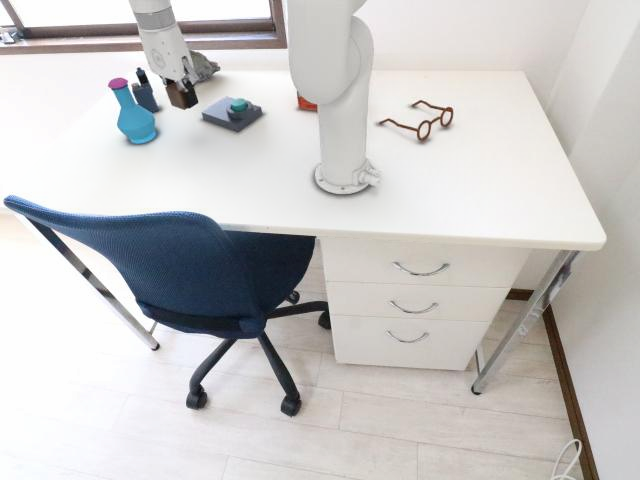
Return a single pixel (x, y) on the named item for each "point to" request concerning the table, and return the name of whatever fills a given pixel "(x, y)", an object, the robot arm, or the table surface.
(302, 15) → the robot arm
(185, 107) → the block
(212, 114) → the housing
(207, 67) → the mineral rock
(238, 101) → the button
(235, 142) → the table surface
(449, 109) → the glasses
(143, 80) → the vaping device
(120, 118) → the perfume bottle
